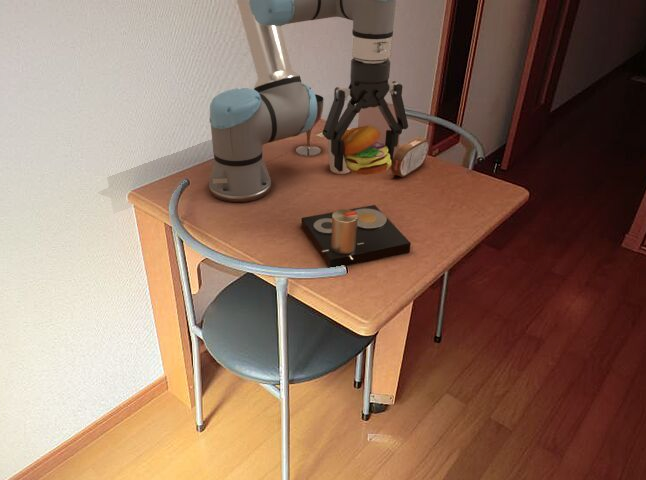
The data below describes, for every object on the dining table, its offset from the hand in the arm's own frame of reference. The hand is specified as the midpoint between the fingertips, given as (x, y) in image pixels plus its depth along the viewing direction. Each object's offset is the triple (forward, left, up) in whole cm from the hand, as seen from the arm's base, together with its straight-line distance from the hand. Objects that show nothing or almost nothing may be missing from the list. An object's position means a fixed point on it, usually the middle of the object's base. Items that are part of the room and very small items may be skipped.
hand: (363, 164), depth 118 cm
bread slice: (-20, +24, -14) cm, 34 cm away
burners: (+3, -4, -12) cm, 13 cm away
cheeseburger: (0, 0, -1) cm, 1 cm away
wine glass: (-41, +3, -14) cm, 43 cm away
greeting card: (-31, +19, -14) cm, 39 cm away
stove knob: (+12, -9, -12) cm, 19 cm away
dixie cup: (-27, +7, -14) cm, 31 cm away
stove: (+6, -4, -14) cm, 16 cm away
